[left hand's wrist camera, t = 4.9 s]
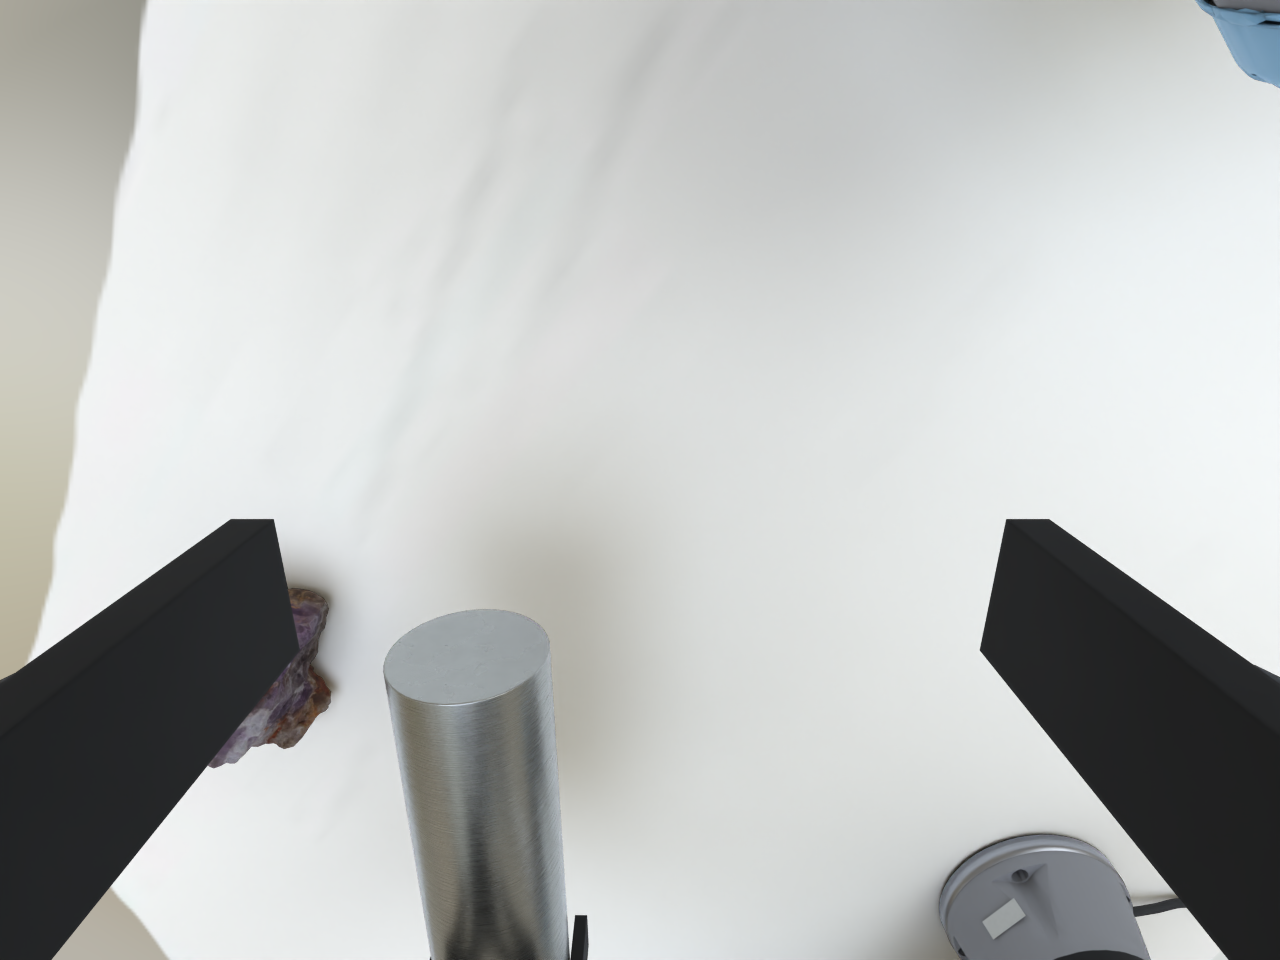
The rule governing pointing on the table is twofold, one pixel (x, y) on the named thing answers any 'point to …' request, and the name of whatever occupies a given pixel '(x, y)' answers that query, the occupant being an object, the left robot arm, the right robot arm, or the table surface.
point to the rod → (481, 784)
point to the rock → (286, 689)
